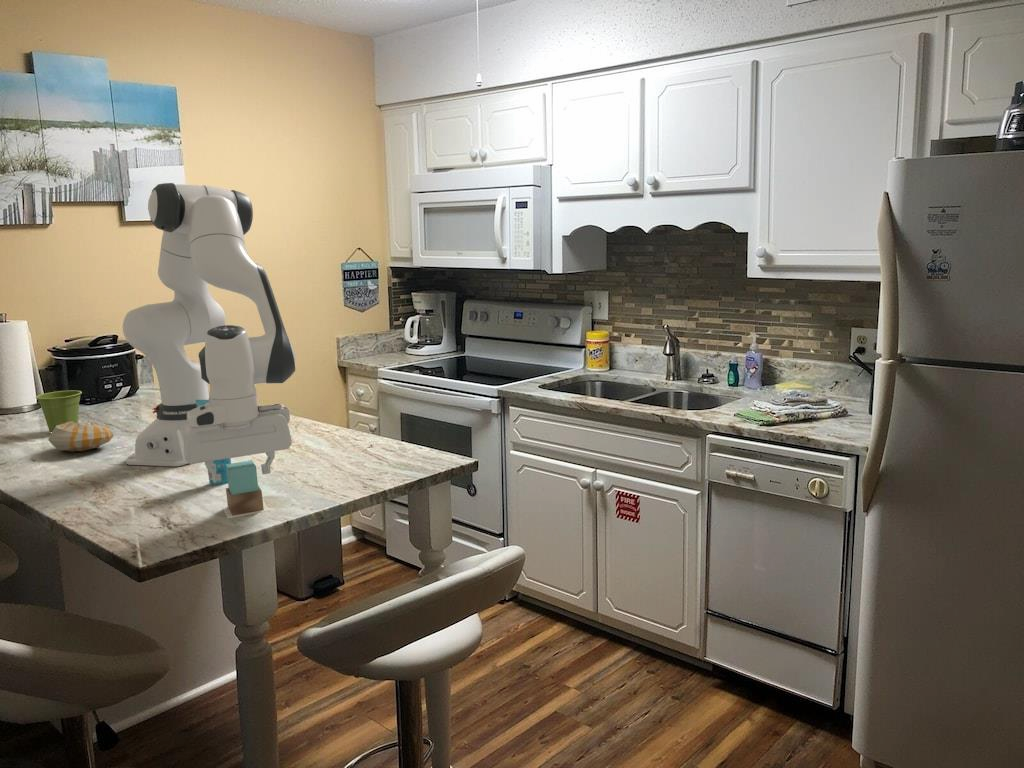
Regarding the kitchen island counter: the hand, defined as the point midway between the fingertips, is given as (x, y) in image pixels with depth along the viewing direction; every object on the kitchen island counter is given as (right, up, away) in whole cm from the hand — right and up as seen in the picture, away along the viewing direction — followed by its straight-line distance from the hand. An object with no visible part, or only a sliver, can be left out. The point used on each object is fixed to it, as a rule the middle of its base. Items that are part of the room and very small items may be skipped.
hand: (242, 477), depth 166 cm
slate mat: (0, -7, +1) cm, 7 cm away
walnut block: (0, -6, +1) cm, 6 cm away
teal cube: (0, -2, 0) cm, 2 cm away
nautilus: (-62, +1, +58) cm, 84 cm away
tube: (-11, -4, +21) cm, 24 cm away
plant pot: (-77, +4, +78) cm, 109 cm away
